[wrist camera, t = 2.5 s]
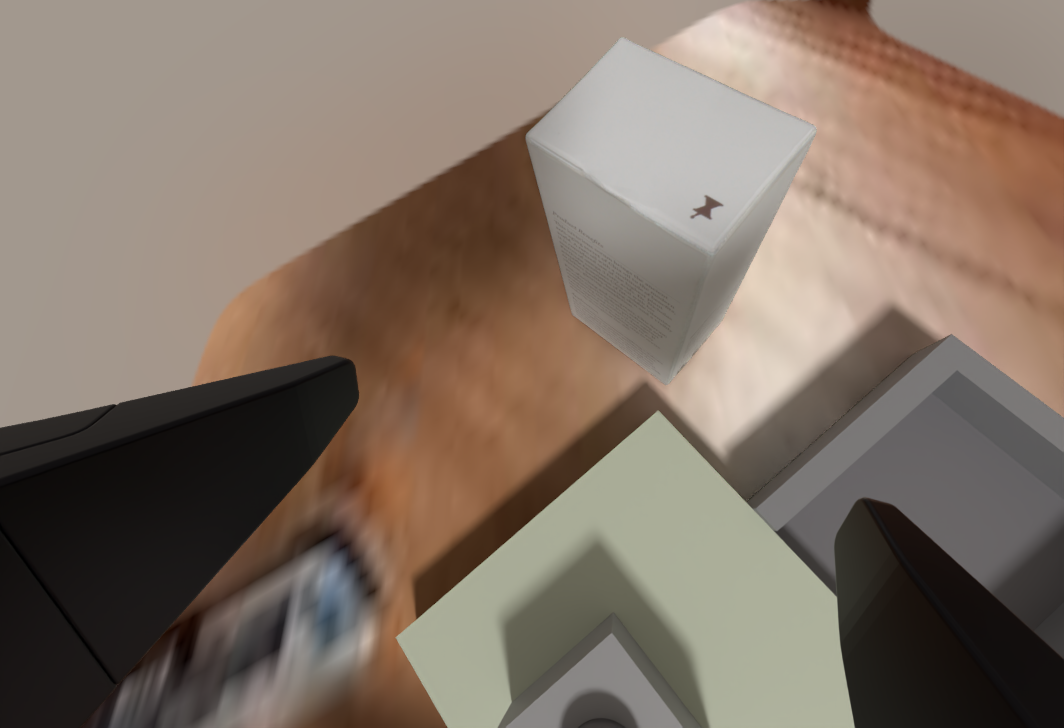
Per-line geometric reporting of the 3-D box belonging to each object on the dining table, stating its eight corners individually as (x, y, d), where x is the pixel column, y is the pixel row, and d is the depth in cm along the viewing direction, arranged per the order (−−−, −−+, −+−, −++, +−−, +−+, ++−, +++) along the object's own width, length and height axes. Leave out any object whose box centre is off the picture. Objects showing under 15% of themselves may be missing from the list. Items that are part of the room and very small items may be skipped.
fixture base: (658, 1028, 16) (678, 1312, 10) (416, 625, 21) (341, 669, 15) (1162, 551, 17) (1427, 574, 11) (816, 278, 22) (882, 202, 16)
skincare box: (724, 320, 22) (831, 126, 11) (666, 388, 22) (714, 261, 10) (622, 252, 24) (621, 27, 13) (567, 313, 23) (516, 137, 12)
